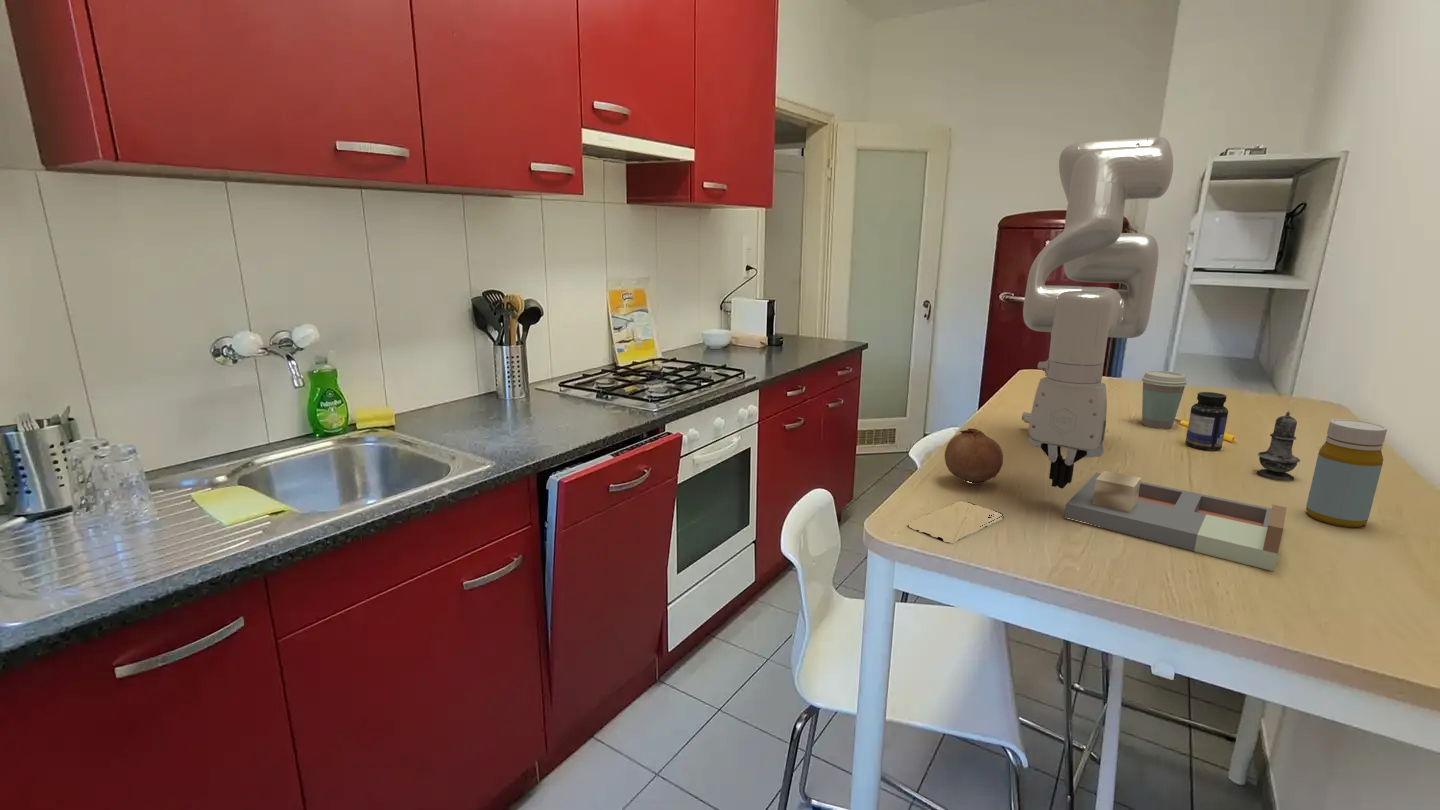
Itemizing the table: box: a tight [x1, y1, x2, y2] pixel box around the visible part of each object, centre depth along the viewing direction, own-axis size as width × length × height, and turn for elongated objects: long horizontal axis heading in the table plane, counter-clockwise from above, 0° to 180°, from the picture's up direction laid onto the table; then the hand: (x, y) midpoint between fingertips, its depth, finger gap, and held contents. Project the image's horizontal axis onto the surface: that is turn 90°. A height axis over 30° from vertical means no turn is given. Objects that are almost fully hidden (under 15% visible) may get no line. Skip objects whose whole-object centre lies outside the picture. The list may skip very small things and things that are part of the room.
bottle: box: [1305, 418, 1388, 528], centre depth 99 cm, size 7×7×15 cm
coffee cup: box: [1141, 370, 1188, 430], centre depth 149 cm, size 8×9×12 cm
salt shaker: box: [1255, 410, 1301, 482], centre depth 118 cm, size 6×6×12 cm
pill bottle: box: [1185, 391, 1229, 451], centre depth 134 cm, size 6×6×11 cm
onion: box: [944, 427, 1004, 484], centre depth 115 cm, size 10×9×10 cm
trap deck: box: [1064, 472, 1287, 572], centre depth 99 cm, size 25×18×6 cm
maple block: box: [1093, 470, 1142, 512], centre depth 101 cm, size 5×5×4 cm
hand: (1059, 484), depth 106 cm, fingers closed
